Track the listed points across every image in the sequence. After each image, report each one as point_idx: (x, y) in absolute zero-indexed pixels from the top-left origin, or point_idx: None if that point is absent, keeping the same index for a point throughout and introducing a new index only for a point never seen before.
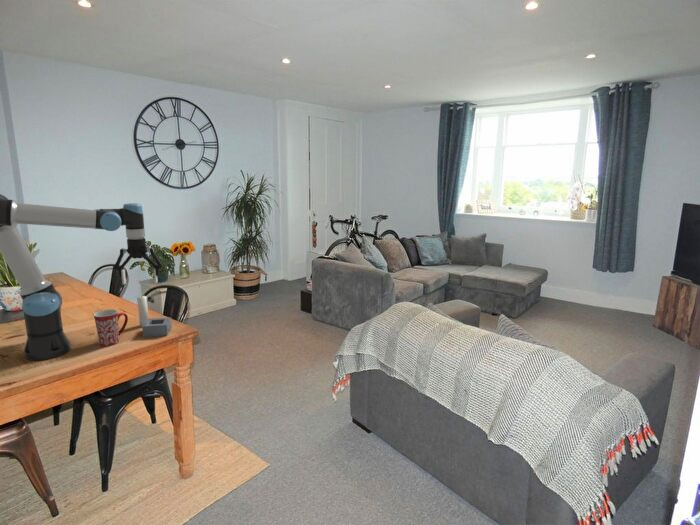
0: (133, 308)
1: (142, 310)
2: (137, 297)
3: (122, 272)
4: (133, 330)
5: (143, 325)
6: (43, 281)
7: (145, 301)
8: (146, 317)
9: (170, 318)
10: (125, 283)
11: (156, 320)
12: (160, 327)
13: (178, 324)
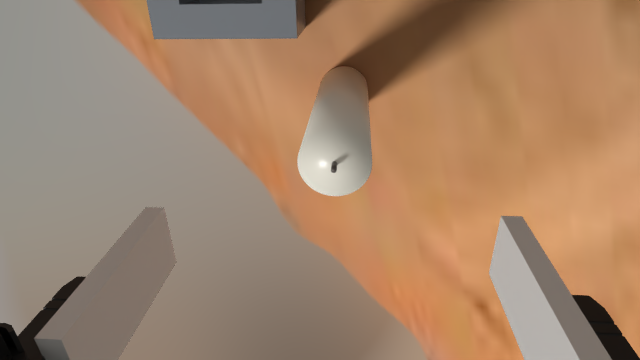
0: (447, 333)
1: (335, 95)
2: (368, 161)
3: (580, 339)
4: (388, 16)
5: None
6: None
7: (306, 131)
8: (320, 89)
9: (151, 20)
10: (493, 253)
11: (234, 4)
12: None
13: (162, 74)
